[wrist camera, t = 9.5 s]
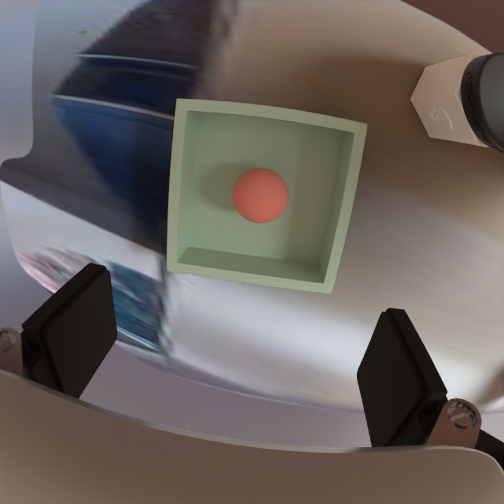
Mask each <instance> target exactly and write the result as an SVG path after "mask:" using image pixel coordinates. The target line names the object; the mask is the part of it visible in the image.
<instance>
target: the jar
mask: <svg viewBox="0 0 504 504" xmlns="http://www.w3.org/2000/svg"><path fill="white" fill-rule="evenodd" d="M410 100H411V102H412V104H413V106H414V108H415V110H416V112H417V113H418V115H419V117H420V119H421V121H422V123H423V125H424V127H425V129H426V131H427V133H428V135H429V137H430V138H436V139H443V140H449V141H455V142H461V143H466V144H472V145H477V146H483V147H490V148H492V149H495V150H497V151H499V152H503V153H504V53H494V54H489V55H484V56H479V55H476V54H473V53H471V54H468V55H464V56H460V57H457V58H453V59H450V60H446V61H443V62H440V63H436V64H433V65H430V66H427V67H425V69H424V71H423V73H422V75H421V77H420V79H419V82H418V84H417V86H416V88H415V90H414V92H413V94H412V96H411V98H410Z"/></svg>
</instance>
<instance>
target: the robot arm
mask: <svg viewBox="0 0 504 504" xmlns="http://www.w3.org/2000/svg"><path fill="white" fill-rule="evenodd" d="M22 328H23V332H22V333H21V334H20V333H19V332H18V331H17V330H16V329H14V328H10V327H3V328H0V504H504V443H503V442H502V441H500V440H498V439H496V438H495V437H493V436H491V435H489V434H488V433H486V432H485V431H483V430H481V429H480V428H481V423H482V419H481V415H480V413H479V411H478V409H477V408H476V407H475V406H474V405H473V404H471V403H470V402H468V401H466V400H464V399H459V398H454V399H450V400H449V401H448V399H447V397H446V394H447V389H446V387H445V385H444V383H443V381H442V379H441V377H440V375H439V373H438V371H437V369H436V367H435V365H434V363H433V361H432V359H431V357H430V355H429V353H428V352H427V350H426V348H425V346H424V344H423V342H422V340H421V338H420V337H419V335H418V333H417V331H416V329H415V328H414V326H413V324H412V322H411V320H410V319H409V317H408V315H407V313H406V312H405V310H403V309H395V308H388V309H387V310H386V312H382V313H381V315H380V317H379V320H378V322H377V325H376V327H375V330H374V332H373V335H372V337H371V340H370V342H369V345H368V347H367V350H366V352H365V354H364V357H363V359H362V361H361V364H360V366H359V368H358V371H357V381H358V385H359V389H360V394H361V398H362V403H363V407H364V412H365V416H366V421H367V426H368V430H369V435H370V440H371V445H372V447H349V448H348V447H310V446H293V445H281V444H270V443H261V442H252V441H245V440H237V439H231V438H224V437H218V436H212V435H207V434H202V433H197V432H192V431H186V430H182V429H178V428H173V427H169V426H165V425H160V424H157V423H153V422H149V421H145V420H142V419H138V418H134V417H131V416H127V415H124V414H120V413H118V412H114V411H111V410H108V409H104V408H102V407H99V406H96V405H93V404H90V403H87V402H85V401H82V400H79V397H80V396H81V394H82V393H83V391H84V389H85V388H86V386H87V385H88V383H89V381H90V380H91V378H92V377H93V375H94V374H95V372H96V370H97V369H98V367H99V366H100V364H101V363H102V361H103V360H104V358H105V356H106V355H107V353H108V352H109V350H110V349H111V347H112V346H113V344H114V343H115V341H116V339H117V327H116V320H115V312H114V304H113V295H112V286H111V276H110V272H109V271H108V270H107V269H106V267H105V266H104V265H99V264H93V263H89V264H88V265H86V266H85V267H84V268H83V269H82V270H81V271H79V272H78V273H77V274H76V275H75V276H74V277H72V278H71V279H70V280H69V281H68V282H67V283H66V284H65V285H63V286H62V287H61V288H60V289H59V290H58V291H57V292H56V293H55V294H54V295H52V296H51V297H50V298H49V299H48V300H47V301H46V302H45V303H44V304H43V305H42V306H41V307H40V308H38V309H37V310H36V311H35V312H34V313H33V314H32V315H31V316H30V317H29V318H28V319H27V320H26V321H25V322H24V323H23V324H22Z"/></svg>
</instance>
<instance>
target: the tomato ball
mask: <svg viewBox="0 0 504 504" xmlns="http://www.w3.org/2000/svg"><path fill="white" fill-rule="evenodd" d="M287 202H288V189H287V186H286V184H285V182H284V180H283V179H282V178H281V176H280V175H278V174H277V173H276V172H274V171H272V170H270V169H266V168H255V169H251V170H249V171H247V172H245V173H243V174H242V175H241V176H240V177H239V178H238V180H237V181H236V183H235V185H234V188H233V203H234V206H235V208H236V210H237V211H238V213H239V214H240V215H241V216H242V217H243V218H245V219H246V220H249V221H251V222H254V223H267V222H270V221H273V220H274V219H276V218H277V217H279V216H280V215H281V214H282V212H283V211H284V210H285V208H286V205H287Z"/></svg>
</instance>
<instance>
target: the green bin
mask: <svg viewBox="0 0 504 504" xmlns="http://www.w3.org/2000/svg"><path fill="white" fill-rule="evenodd" d="M367 125H368V124H365V123H361V122H356V121H352V120H347V119H342V118H338V117H333V116H328V115H322V114H317V113H311V112H306V111H300V110H293V109H287V108H280V107H272V106H265V105H256V104H247V103H237V102H226V101H213V100H196V99H177V102H176V111H175V120H174V131H173V142H172V154H171V168H170V184H169V203H168V231H167V271H173V272H179V273H185V274H191V275H198V276H204V277H211V278H217V279H224V280H231V281H238V282H245V283H252V284H259V285H266V286H273V287H281V288H288V289H296V290H303V291H311V292H319V293H327V294H332V290H333V287H334V283H335V279H336V275H337V271H338V267H339V263H340V259H341V255H342V251H343V247H344V243H345V239H346V234H347V230H348V226H349V221H350V216H351V212H352V207H353V202H354V198H355V193H356V188H357V183H358V177H359V172H360V167H361V161H362V155H363V150H364V144H365V138H366V131H367ZM255 168H266V169H270V170H272V171H274V172H276V173H277V174H278V175H280V176H281V178H282V179H283V180H284V182H285V184H286V186H287V189H288V202H287V205H286V208H285V210H284V211H283V212H282V214H281V215H280V216H279V217H277V218H276V219H274V220H273V221H270V222H267V223H254V222H251V221H249V220H246V219H245V218H243V217H242V216H241V215H240V214H239V213H238V211H237V210H236V208H235V206H234V203H233V188H234V185H235V183H236V181H237V180H238V178H239V177H240V176H241V175H242V174H243V173H245V172H247V171H249V170H251V169H255Z"/></svg>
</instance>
